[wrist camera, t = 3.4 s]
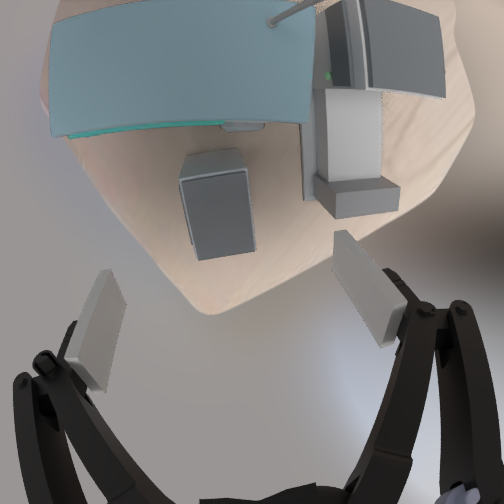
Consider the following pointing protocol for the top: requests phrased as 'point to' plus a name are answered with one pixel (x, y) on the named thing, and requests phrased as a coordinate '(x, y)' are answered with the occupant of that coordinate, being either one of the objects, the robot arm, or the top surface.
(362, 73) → the block
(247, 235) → the block
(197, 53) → the radio
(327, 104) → the rail panel
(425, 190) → the top surface
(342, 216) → the block
